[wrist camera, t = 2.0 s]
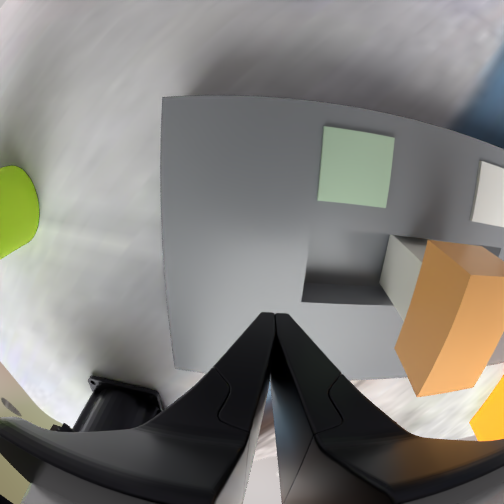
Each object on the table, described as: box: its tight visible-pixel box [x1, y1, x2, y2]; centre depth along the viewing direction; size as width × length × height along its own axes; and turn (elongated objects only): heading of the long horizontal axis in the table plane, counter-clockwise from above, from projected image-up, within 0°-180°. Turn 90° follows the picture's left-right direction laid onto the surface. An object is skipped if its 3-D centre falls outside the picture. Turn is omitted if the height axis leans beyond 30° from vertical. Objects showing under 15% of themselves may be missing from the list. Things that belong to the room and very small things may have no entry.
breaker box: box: [160, 95, 504, 380], centre depth 14 cm, size 24×14×3 cm, turn 87°
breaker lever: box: [379, 235, 504, 397], centre depth 11 cm, size 3×5×7 cm, turn 177°
